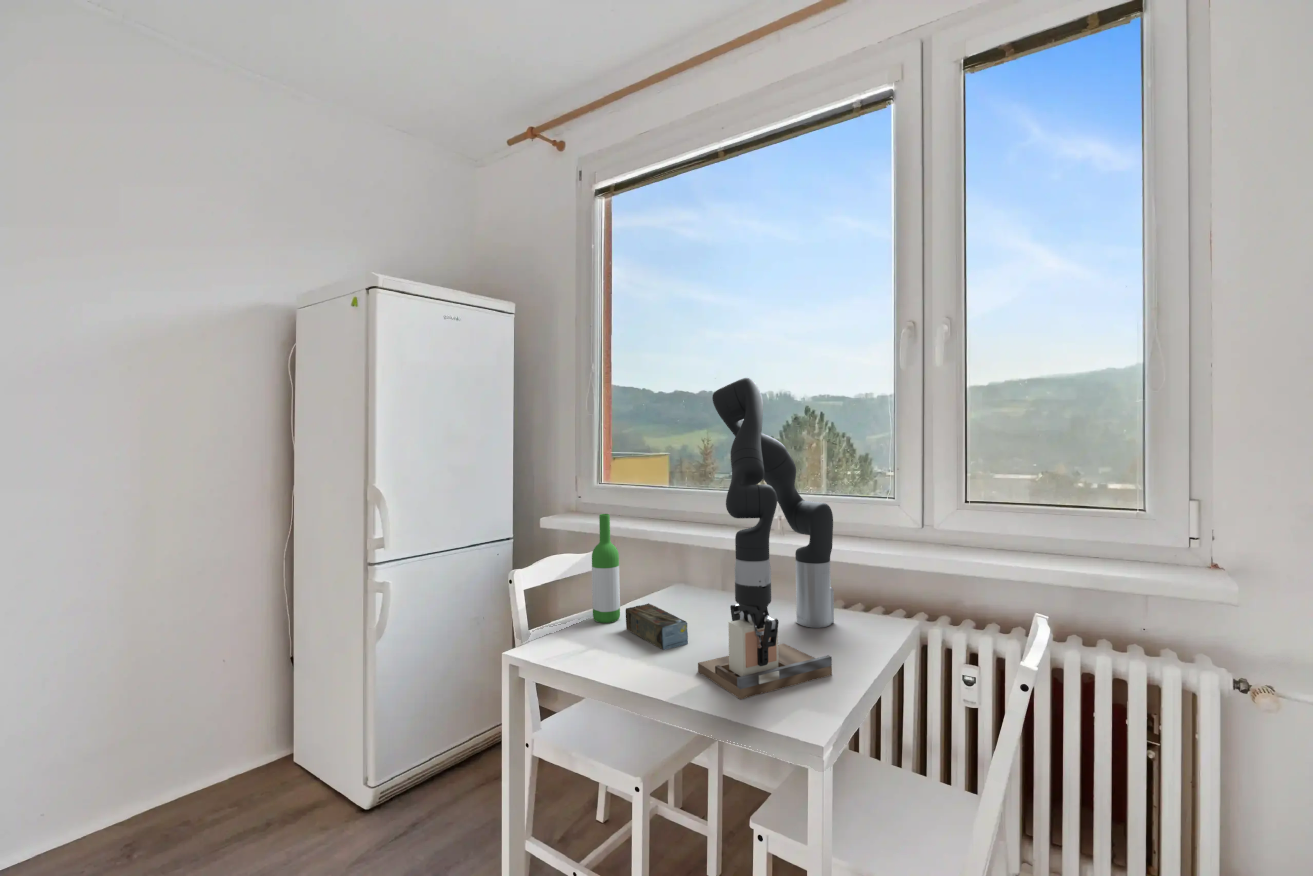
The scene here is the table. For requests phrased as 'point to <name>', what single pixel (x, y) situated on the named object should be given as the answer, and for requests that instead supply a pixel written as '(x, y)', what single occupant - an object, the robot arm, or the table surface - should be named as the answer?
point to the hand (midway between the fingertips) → (754, 660)
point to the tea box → (748, 649)
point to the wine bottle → (605, 576)
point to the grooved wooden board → (768, 673)
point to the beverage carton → (657, 626)
